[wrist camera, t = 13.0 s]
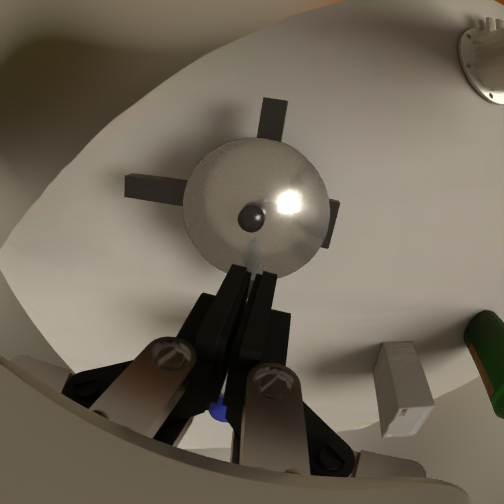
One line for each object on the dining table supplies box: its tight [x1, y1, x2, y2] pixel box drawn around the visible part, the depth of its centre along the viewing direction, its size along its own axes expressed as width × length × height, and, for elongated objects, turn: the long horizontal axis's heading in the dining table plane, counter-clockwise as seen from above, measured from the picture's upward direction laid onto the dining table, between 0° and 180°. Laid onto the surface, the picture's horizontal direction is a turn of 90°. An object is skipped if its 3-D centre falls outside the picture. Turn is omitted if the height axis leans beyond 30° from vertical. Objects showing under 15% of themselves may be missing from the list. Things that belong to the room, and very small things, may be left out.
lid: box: [183, 138, 330, 280], centre depth 27 cm, size 15×15×3 cm
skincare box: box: [373, 342, 435, 438], centre depth 38 cm, size 8×7×16 cm
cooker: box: [124, 97, 340, 299], centre depth 33 cm, size 23×24×9 cm
